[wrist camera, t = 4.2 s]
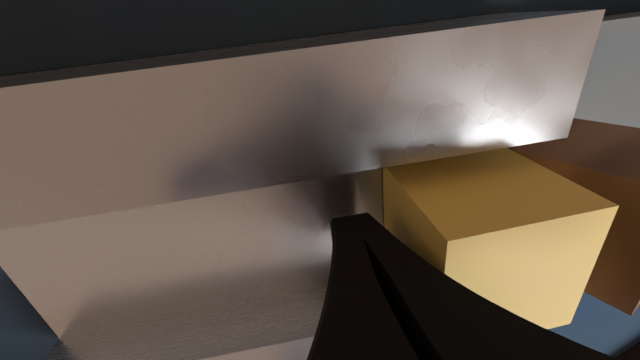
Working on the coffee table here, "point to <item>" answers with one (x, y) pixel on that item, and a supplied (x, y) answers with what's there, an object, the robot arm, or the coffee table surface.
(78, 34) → the coffee table surface
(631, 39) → the tray
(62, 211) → the channel
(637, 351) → the hardcover book
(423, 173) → the mustard cube
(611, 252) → the walnut cube
